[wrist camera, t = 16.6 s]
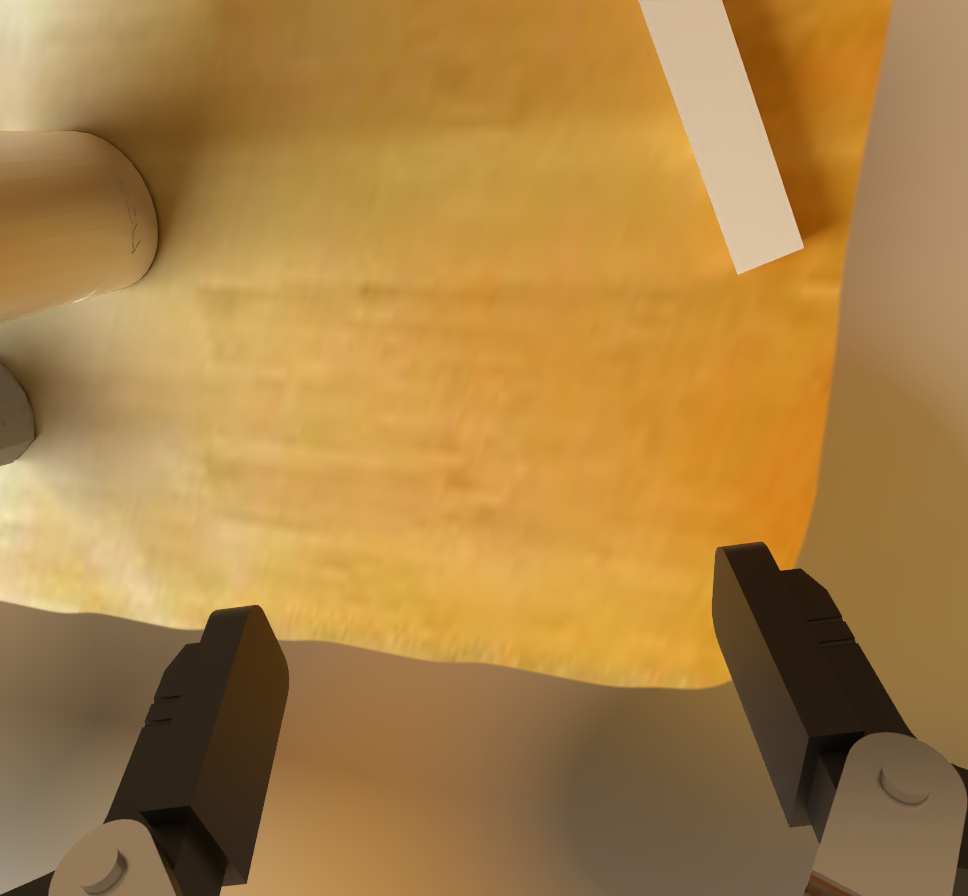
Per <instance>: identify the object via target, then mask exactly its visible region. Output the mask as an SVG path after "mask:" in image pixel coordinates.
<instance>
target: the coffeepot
mask: <svg viewBox="0 0 968 896" xmlns="http://www.w3.org/2000/svg"><path fill="white" fill-rule="evenodd" d="M33 440H34V417H33V412H32V409H31V405H30V402H29V400H28V398H27V396H26V394H25V392H24V390H23V389H22V387H21V385H20V384H19V382H18V381H17V380H16V378H15V377H14V376H13V375H12V373H11V372H10V371H9V370H8V369H7V368H5V367H4V366H3V365H2V364H1V363H0V466H2V465H6V464H9V463H13V462H14V460H15V459H16V458H17V457H18V456H19V455H20V454H22V453H23V452H24V451H25V450H26V449H27V448H28V446H29V445H30V443H31V442H32V441H33Z"/></svg>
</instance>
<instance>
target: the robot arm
mask: <svg viewBox="0 0 968 896" xmlns="http://www.w3.org/2000/svg"><path fill="white" fill-rule="evenodd" d="M157 240H158V225H157V219H156V212H155V208H154V205H153V202H152V199H151V196H150V193H149V191H148V189H147V187H146V185H145V183H144V181H143V179H142V177H141V176H140V174H139V173H138V171H137V170H136V169H135V167H134V166H133V164H132V163H131V162H130V161H129V160H128V159H127V158H126V157H125V156H124V155H123V154H122V153H121V152H120V151H119V150H118V149H117V148H115V147H114V146H113V145H111V144H110V143H108V142H107V141H106V140H104V139H101V138H99V137H97V136H95V135H92V134H90V133H84V132H79V131H0V323H2V322H6V321H9V320H13V319H16V318H20V317H23V316H27V315H30V314H34V313H37V312H41V311H44V310H48V309H51V308H55V307H58V306H62V305H65V304H69V303H72V302H77V301H80V300H84V299H87V298H91V297H94V296H98V295H101V294H104V293H108V292H111V291H115V290H118V289H122V288H125V287H128V286H130V285H132V284H134V283H135V282H137V281H139V280H140V279H141V278H142V277H143V275H144V274H145V273H146V272H147V271H148V269H149V267H150V265H151V263H152V261H153V259H154V256H155V252H156V248H157ZM712 617H713V624H714V629H715V633H716V637H717V640H718V643H719V646H720V648H721V651H722V654H723V656H724V659H725V661H726V664H727V666H728V669H729V672H730V674H731V677H732V679H733V682H734V684H735V687H736V690H737V692H738V695H739V698H740V700H741V703H742V705H743V708H744V711H745V713H746V716H747V718H748V721H749V723H750V726H751V729H752V731H753V734H754V736H755V739H756V741H757V744H758V746H759V749H760V752H761V755H762V757H763V760H764V762H765V765H766V767H767V770H768V772H769V775H770V778H771V780H772V783H773V786H774V788H775V791H776V793H777V796H778V799H779V801H780V804H781V806H782V809H783V812H784V814H785V817H786V819H787V822H788V824H789V827H797V826H806V825H812V827H813V829H814V832H815V834H816V837H817V839H818V842H819V844H820V846H819V849H818V853H817V856H816V859H815V862H814V866H813V869H812V872H811V875H810V878H809V881H808V885H807V887H806V889H805V892H804V895H803V896H968V770H966V769H964V768H961V767H958V766H956V765H954V764H952V763H950V762H949V761H948V760H947V759H946V758H945V757H944V756H943V755H942V754H940V753H939V752H938V751H936V750H935V749H934V748H932V747H930V746H929V745H927V744H926V743H924V742H922V741H920V740H918V739H917V738H916V737H915V736H914V735H913V734H912V733H911V731H910V730H909V729H908V727H907V725H906V724H905V723H904V721H903V719H902V717H901V716H900V714H899V712H898V711H897V709H896V707H895V705H894V704H893V702H892V700H891V699H890V697H889V695H888V694H887V692H886V690H885V689H884V687H883V685H882V683H881V682H880V680H879V678H878V677H877V675H876V673H875V671H874V670H873V668H872V666H871V665H870V663H869V661H868V660H867V658H866V656H865V654H864V653H863V651H862V649H861V648H860V646H859V644H858V643H856V642H855V638H854V636H853V634H852V632H851V631H850V629H849V627H848V625H847V624H846V622H845V621H844V622H843V620H842V615H841V613H840V612H839V610H838V608H837V607H836V605H835V603H834V602H833V600H832V598H831V596H830V595H829V593H828V591H827V590H826V589H825V588H824V587H823V586H821V585H820V584H819V583H818V582H817V581H815V580H814V579H813V578H812V577H810V576H809V575H808V574H806V573H805V572H804V571H803V570H802V569H792V570H784V571H780V570H779V568H778V566H777V564H776V562H775V560H774V558H773V556H772V554H771V553H770V551H769V549H768V547H767V546H766V545H765V544H764V543H763V542H755V543H747V544H739V545H732V546H724V547H718V548H717V550H716V553H715V566H714V582H713V597H712ZM288 690H289V672H288V666H287V662H286V659H285V656H284V654H283V652H282V650H281V647H280V645H279V643H278V641H277V639H276V637H275V635H274V633H273V630H272V628H271V626H270V624H269V622H268V620H267V618H266V615H265V613H264V611H263V610H262V608H261V607H260V606H259V605H252V606H244V607H236V608H229V609H221V610H215V611H213V613H212V614H211V615H210V617H209V619H208V622H207V624H206V627H205V630H204V633H203V636H202V638H201V641H200V643H193V644H186V645H185V646H184V648H183V649H182V650H181V651H180V653H179V654H178V655H177V656H176V657H175V659H174V660H173V661H172V662H171V664H170V665H169V666H168V667H167V669H166V670H165V672H164V674H163V677H162V679H161V682H160V684H159V687H158V689H157V692H156V694H155V697H154V704H152V705H151V707H150V709H149V712H148V714H147V717H146V720H145V727H144V728H142V730H141V732H140V735H139V737H138V740H137V742H136V745H135V747H134V750H133V752H132V755H131V757H130V760H129V763H128V765H127V768H126V770H125V773H124V775H123V777H122V780H121V783H120V785H119V788H118V790H117V793H116V795H115V798H114V800H113V803H112V805H111V808H110V810H109V813H108V815H107V817H106V819H105V821H104V823H103V825H101V826H99V827H97V828H95V829H94V830H92V831H91V832H89V833H87V835H85V836H84V837H82V838H81V839H80V840H79V841H78V842H77V843H76V844H75V845H74V846H73V847H72V848H71V849H70V850H69V851H68V852H67V854H66V855H65V856H64V858H63V859H62V861H61V862H60V863H59V865H58V867H57V869H56V870H55V871H53V872H51V873H49V874H47V875H45V876H42V877H40V878H38V879H36V880H33V881H31V882H29V883H26V884H24V885H22V886H20V887H18V888H15V889H13V890H10V891H8V892H6V893H4V894H1V895H0V896H219V895H220V891H221V887H222V886H230V885H239V884H246V883H247V879H248V875H249V870H250V866H251V861H252V856H253V851H254V847H255V842H256V838H257V834H258V829H259V824H260V820H261V815H262V811H263V806H264V801H265V797H266V792H267V788H268V783H269V778H270V774H271V769H272V764H273V760H274V756H275V751H276V746H277V742H278V737H279V733H280V728H281V723H282V719H283V714H284V710H285V705H286V701H287V696H288Z"/></svg>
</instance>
